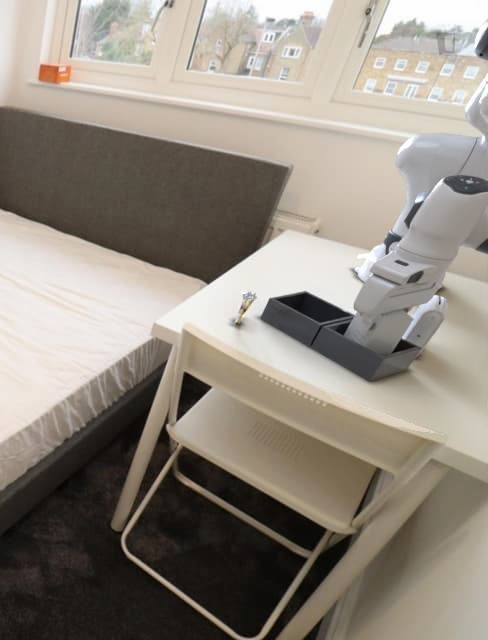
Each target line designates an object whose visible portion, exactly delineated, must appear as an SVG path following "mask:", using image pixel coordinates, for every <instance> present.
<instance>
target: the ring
mask: <svg viewBox="0 0 488 640" xmlns="http://www.w3.org/2000/svg"><path fill="white" fill-rule="evenodd" d="M257 299H258V295H257V293H256V292H254V293H253V291H252V290H250V291H247V292H242V301H241V305H240V308H239V310H238V312H237V314H236V317H235V321H234V323H236V324H240V323H241V322H242V320H243V318H244V316H245V315H246V313H247V311H248V309H249V308H250V306H251V305H252V304H253V303H254V301H256V300H257Z"/></svg>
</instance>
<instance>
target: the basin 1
mask: <svg viewBox="0 0 488 640" xmlns="http://www.w3.org/2000/svg"><path fill="white" fill-rule="evenodd" d="M355 315H356V314H354V313H351V312H350V311H348V310H345V309H343V308H341V307H339V306H338V305H335V304H333V303H331V302H329V301H327V300H325V299H323V298H321V297H319V296H317V295H315V294H313V293H311V292H309V291H307V290H304V291H299V292H298V291H297V292H294V293H289V294H283V295H279V296H274V297H269V299H268V300H267V302H266V305H265V307H264V309H263V311H262V313H261V315H260V317H259V319H260V320H262V321H264V322H265V323H267V324H269V325H271V326H273V327H274V328H276V329H278V330H280V331H281V332H283V333H284V334H287V335H288V336H290V337H291V338H293V339H295V340H297V341H299V342H301V344H304V345H306V346H307V347H311V346H312V344H313V343H314V341H315V339H316V337H317V335H318V334H319V332H320V330H321V328H322V327H323V326H326V325H330V324H334V323H339V322H343V321H347V320H351V319H353V318H354V316H355Z"/></svg>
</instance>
